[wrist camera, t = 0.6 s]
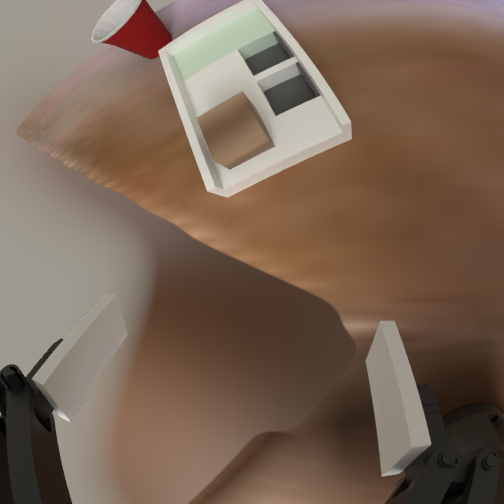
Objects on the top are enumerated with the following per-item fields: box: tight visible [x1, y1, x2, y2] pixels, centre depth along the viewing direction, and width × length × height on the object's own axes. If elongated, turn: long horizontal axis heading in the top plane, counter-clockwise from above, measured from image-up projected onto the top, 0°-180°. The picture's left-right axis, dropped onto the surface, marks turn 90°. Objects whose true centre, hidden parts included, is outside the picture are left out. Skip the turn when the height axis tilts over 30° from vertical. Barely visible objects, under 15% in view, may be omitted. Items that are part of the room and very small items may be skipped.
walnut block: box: [197, 92, 275, 170], centre depth 28 cm, size 6×6×4 cm
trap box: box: [158, 0, 352, 198], centre depth 30 cm, size 24×16×5 cm, turn 23°
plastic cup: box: [91, 0, 172, 59], centre depth 32 cm, size 11×11×12 cm
